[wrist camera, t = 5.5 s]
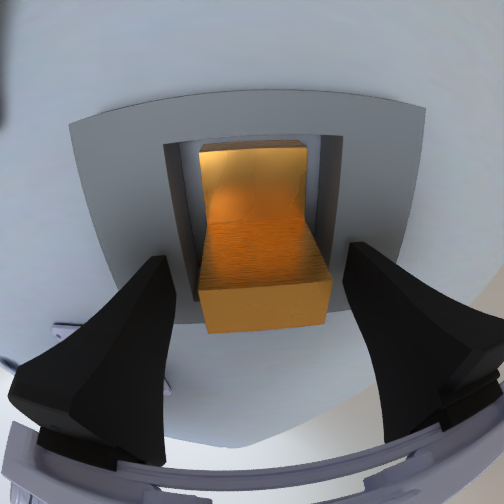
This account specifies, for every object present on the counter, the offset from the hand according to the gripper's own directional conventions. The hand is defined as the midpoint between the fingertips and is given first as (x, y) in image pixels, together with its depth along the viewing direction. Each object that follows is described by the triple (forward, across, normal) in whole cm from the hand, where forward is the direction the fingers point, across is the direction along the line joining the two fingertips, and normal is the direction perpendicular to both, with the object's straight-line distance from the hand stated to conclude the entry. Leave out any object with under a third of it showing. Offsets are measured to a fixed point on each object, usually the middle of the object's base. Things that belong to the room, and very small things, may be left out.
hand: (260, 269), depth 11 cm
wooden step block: (+3, 0, -2) cm, 4 cm away
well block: (+3, 0, -2) cm, 3 cm away
